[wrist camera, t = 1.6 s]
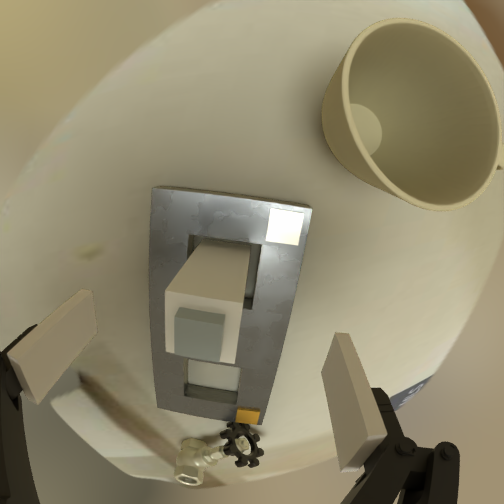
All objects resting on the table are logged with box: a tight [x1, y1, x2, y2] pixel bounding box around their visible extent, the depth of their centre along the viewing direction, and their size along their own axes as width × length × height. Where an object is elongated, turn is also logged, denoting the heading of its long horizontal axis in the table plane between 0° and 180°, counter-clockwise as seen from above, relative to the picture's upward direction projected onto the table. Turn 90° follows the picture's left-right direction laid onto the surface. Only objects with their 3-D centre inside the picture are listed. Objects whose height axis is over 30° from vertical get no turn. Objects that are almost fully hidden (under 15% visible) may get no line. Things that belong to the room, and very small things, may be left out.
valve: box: [174, 422, 264, 485], centre depth 29 cm, size 7×7×12 cm
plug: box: [165, 239, 251, 364], centre depth 19 cm, size 4×4×11 cm
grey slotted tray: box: [149, 186, 312, 425], centre depth 25 cm, size 12×24×2 cm, turn 172°
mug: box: [322, 18, 504, 211], centre depth 14 cm, size 11×10×12 cm
